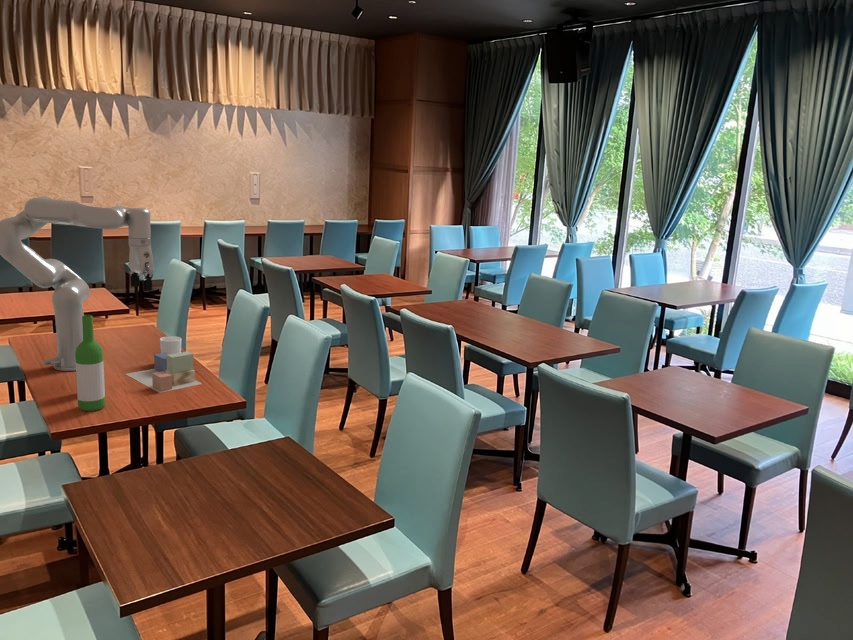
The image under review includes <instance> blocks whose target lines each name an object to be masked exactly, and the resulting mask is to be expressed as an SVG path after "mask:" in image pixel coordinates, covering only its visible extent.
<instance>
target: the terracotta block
mask: <svg viewBox="0 0 853 640" xmlns="http://www.w3.org/2000/svg"><path fill="white" fill-rule="evenodd" d="M152 382H153V387H154V388H156V389H157V390H159V391H166V390H170V389H172V375H170V374H168V373H166V372H164V371H161V372H156V373H152Z"/></svg>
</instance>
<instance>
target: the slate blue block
mask: <svg viewBox="0 0 853 640" xmlns="http://www.w3.org/2000/svg"><path fill="white" fill-rule="evenodd" d="M167 355H168V354H166V353H161V352H160V353H155V354H154V355H153V357H154V358H153V360H154V369H155V370H156V371H158V372H161V371H164V372H166V370H167Z"/></svg>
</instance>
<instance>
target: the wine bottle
mask: <svg viewBox="0 0 853 640" xmlns="http://www.w3.org/2000/svg"><path fill="white" fill-rule="evenodd" d="M93 318H94V316H93V314H84V315H83V316H82V327H83V341H82V342H81V343H80V344H79V345H78V347H77V348H76V352H75V357H76V371H75V372H76V374H75V375H76V390H77V391H76V395H77V405H78V409H79V410H81V411H83V412H95V410H96V411H98V410H99V411H100V410H101V409H103V408H104V407H105V405H106V392H105V391H106V389H105V371H104V369H105V368H104V352H103V348H102V346H101V345H100V344H99V343H98V341H96V340H95V336H94V320H93Z"/></svg>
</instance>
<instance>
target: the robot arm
mask: <svg viewBox="0 0 853 640" xmlns="http://www.w3.org/2000/svg"><path fill="white" fill-rule="evenodd" d="M48 224H55V225H56V224H58V225H68V226H76V227H83V228H90V229H91V228H92V229H100V230H101V229H102V230H103V229H104V230H117V229H120V228H124V227H127V231H128V232H127V234H128V247H129V255H128V256H129V257H128V258H129V259H128V260H129V262H128V263H127V264H128V271H129V278H130V287H133V288H135V287H140V286H141V284H140V279H141V278H140V275H141V276H142V278H143V279H142V290H143V292H150V291H153V277H154V271H155V266H154V257H153V252H152V238H151V237H152V234H151V233H152V232H151V211H150V210H149V208H146V207H145V208H143V207H126V206H121V205H120V206H119V205H116V206H112V207H100V206H90V205H85V204H81V203H80V202H78V201H76V200H67V199H66V200H63V199H56V198H55V199H53V198H51V197H50V196H49V197H47V196H38V197H33V198H30V199H28V200H27V201H26V203H25V205H24V207H23V210H22V211H20V212H19V213H18V214H16V215H15V216H11V217H7V218H3V219H1V220H0V256H1V257H2V258H3V259H4V260H5V261H7V262H8V263H9V264H11V266H13V267H14V268H15V269H16V270H17V271H18V272H20V273H21V274H22V275H23V276H24V277H26V278H27V279H28V280H30V281H31V283H33V284H34V285H35V286H37V287H39V288H41V289H48V288H51V287H52V288H53V289H54V291H53V293H52V295H51V296H52V297H51V299H52V300H51V301H52V306H53V312H54V319H55V321H54V322H55V331H56V347H57V350H56V351H57V354H55V355H54V357H52V358H47V359H43V366H46V365H50V366H53V369H55V370H57V371H61V372H62V371H63V372H72V371H73V372H74V371H75V372H76V357H75V352H76V348H77V347H78V345H79V344H80V343H81V342H82V341H83V327H82V316H83V315H85V313H84V308H83V303H85V302H86V301H87V300H88V298H89V297H90V294H91V293H90V287H89V284H87V282H86V281H85V280H84V279H83V278H81V276H79V275H78V274H77V273H76V272H74V271H73V270H72V269H71V268H70V267H69V266H67V265H66V264H65V263H63V262H62V261H60V260H58V259H55V258H46V259H45V258H43V257H42V256H41V255H40V254H38V253H37V252H36V251H35V250H34V249H32V248H31V247H29V246H28V245H26V244H25V243H23V241H22V240H26V239H28V238H30V237H31V236H33V235H34V234H36V233H37V232H38V231H40V229H43V228H44V227H45V226H46V225H48Z"/></svg>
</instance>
